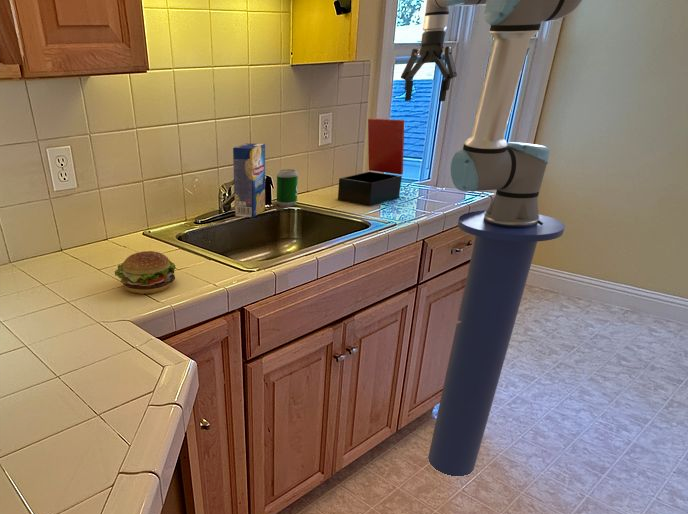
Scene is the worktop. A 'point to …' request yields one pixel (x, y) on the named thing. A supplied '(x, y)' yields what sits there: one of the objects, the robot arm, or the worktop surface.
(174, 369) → the worktop surface
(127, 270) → the food
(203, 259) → the worktop surface
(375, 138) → the lid
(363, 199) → the black open box
